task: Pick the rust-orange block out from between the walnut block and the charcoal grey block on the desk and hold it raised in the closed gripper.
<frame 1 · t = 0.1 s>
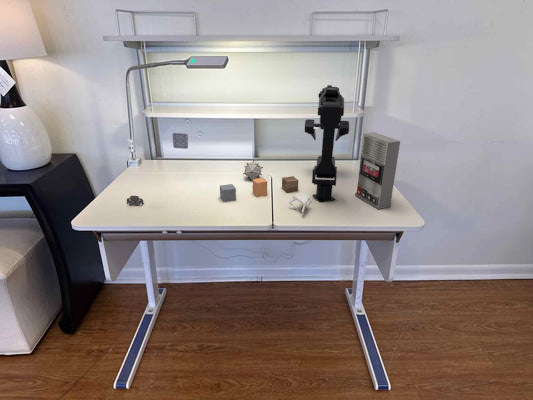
hand: (325, 140, 168), 15 cm above the table, tool tilted 35°, fingers open, 9 cm apart
walnut block: (289, 190, 153), on the table
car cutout: (146, 207, 138), on the table
cassette tape recorder: (371, 201, 143), on the table
charcoal grey block: (228, 199, 145), on the table
grey spiky ball: (253, 179, 164), on the table
rust orange block: (259, 194, 149), on the table
origami figure: (301, 211, 136), on the table
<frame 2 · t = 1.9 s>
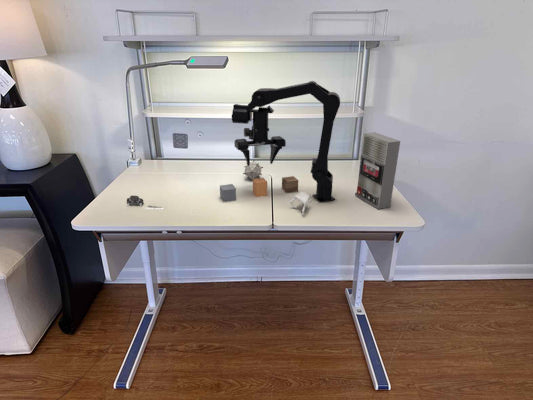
hand: (259, 164, 145), 12 cm above the table, tool pointing down, fingers open, 9 cm apart
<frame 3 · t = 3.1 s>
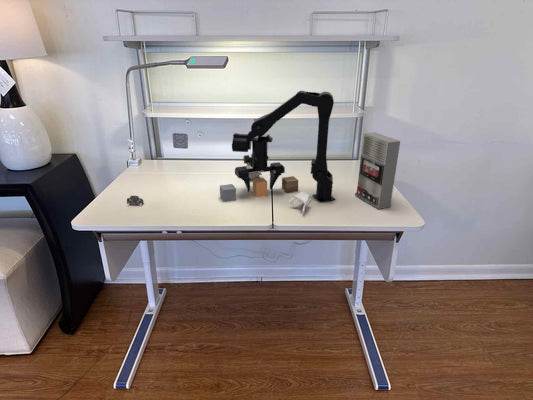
hand: (259, 190, 148), 2 cm above the table, tool pointing down, fingers open, 9 cm apart
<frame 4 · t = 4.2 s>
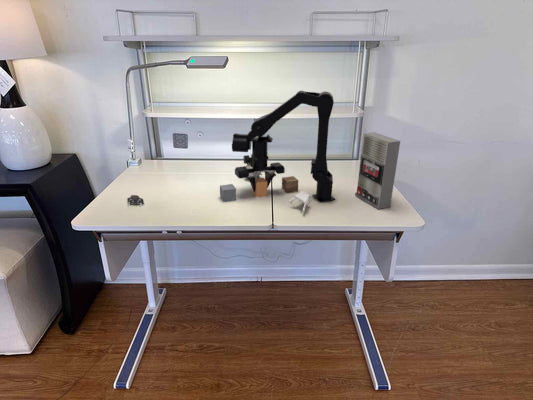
hand: (259, 190, 148), 2 cm above the table, tool pointing down, fingers closed on rust orange block, 4 cm apart
rust orange block: (259, 194, 149), on the table, touching gripper
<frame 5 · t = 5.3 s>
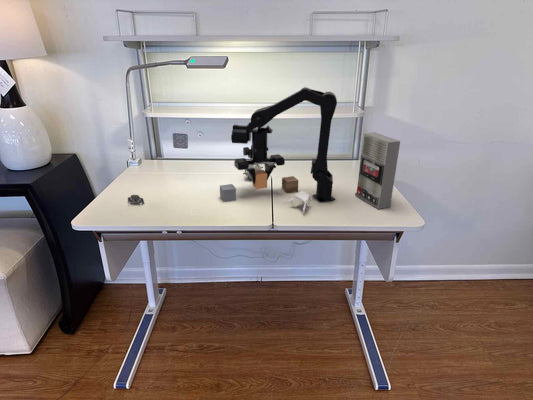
hand: (259, 182, 147), 5 cm above the table, tool pointing down, fingers closed on rust orange block, 4 cm apart
rust orange block: (259, 186, 147), point 3 cm above the table, touching gripper
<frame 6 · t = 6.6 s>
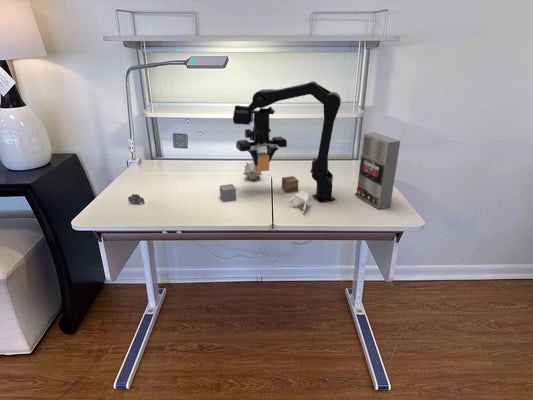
hand: (261, 165, 145), 12 cm above the table, tool pointing down, fingers closed on rust orange block, 4 cm apart
rust orange block: (261, 169, 146), point 10 cm above the table, touching gripper
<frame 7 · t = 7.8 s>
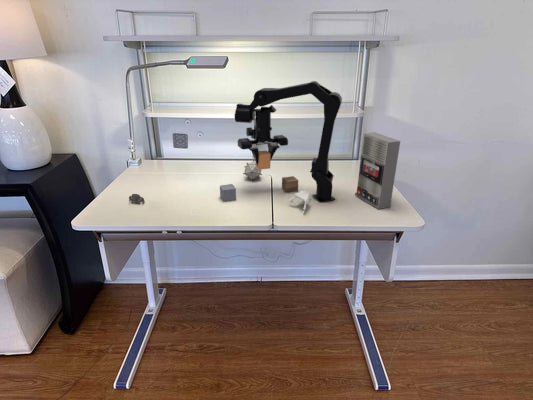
hand: (262, 163, 146), 12 cm above the table, tool pointing down, fingers closed on rust orange block, 4 cm apart
rust orange block: (262, 167, 147), point 10 cm above the table, touching gripper
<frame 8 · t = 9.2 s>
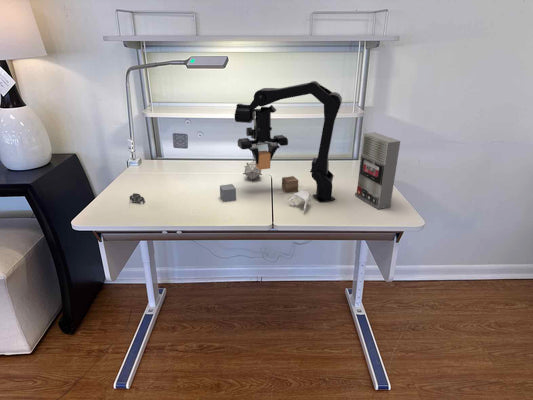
hand: (262, 163, 146), 12 cm above the table, tool pointing down, fingers closed on rust orange block, 4 cm apart
rust orange block: (262, 167, 147), point 10 cm above the table, touching gripper
at the end: the gripper is holding rust orange block; rust orange block point 10.4 cm above the table; walnut block moved 0.1 cm from its start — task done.
